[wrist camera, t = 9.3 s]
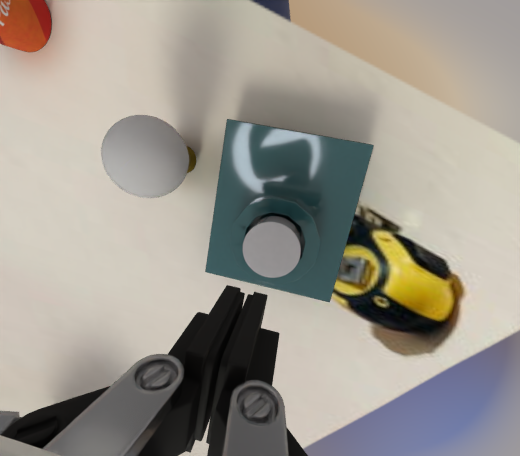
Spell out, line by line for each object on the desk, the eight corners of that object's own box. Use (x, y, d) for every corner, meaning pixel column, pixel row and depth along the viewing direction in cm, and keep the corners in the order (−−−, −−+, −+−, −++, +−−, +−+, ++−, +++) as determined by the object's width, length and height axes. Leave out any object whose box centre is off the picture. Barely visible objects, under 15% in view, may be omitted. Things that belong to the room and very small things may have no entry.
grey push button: (253, 210, 22) (247, 216, 20) (306, 222, 22) (306, 228, 19) (244, 260, 23) (238, 270, 21) (294, 271, 23) (293, 283, 20)
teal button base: (235, 123, 25) (219, 114, 20) (365, 147, 24) (381, 142, 19) (214, 261, 29) (197, 280, 24) (327, 288, 27) (332, 314, 23)
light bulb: (226, 150, 26) (181, 142, 16) (197, 200, 28) (139, 220, 18) (176, 115, 26) (101, 87, 16) (149, 167, 28) (66, 170, 18)
